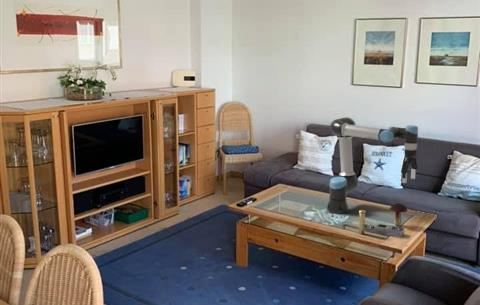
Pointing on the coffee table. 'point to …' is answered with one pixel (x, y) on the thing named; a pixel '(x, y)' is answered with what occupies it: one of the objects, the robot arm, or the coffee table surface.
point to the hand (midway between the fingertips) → (408, 180)
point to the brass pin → (361, 221)
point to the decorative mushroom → (398, 212)
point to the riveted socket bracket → (385, 230)
